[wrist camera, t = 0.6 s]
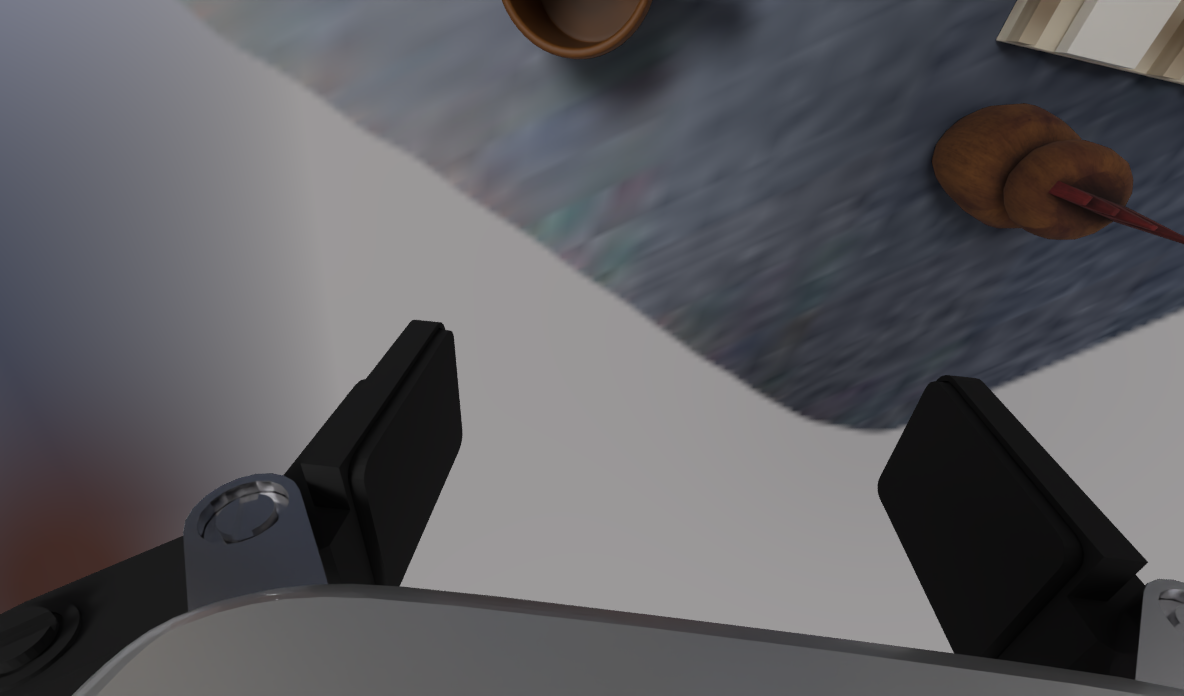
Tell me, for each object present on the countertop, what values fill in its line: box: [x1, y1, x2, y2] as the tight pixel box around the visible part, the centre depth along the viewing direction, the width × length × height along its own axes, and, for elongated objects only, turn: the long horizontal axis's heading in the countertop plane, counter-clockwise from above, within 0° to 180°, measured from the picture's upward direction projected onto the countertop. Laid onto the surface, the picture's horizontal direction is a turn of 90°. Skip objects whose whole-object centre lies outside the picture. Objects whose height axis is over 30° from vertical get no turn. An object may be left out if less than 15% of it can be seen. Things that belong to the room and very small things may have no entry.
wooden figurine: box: [932, 103, 1184, 244], centre depth 28 cm, size 7×6×15 cm
